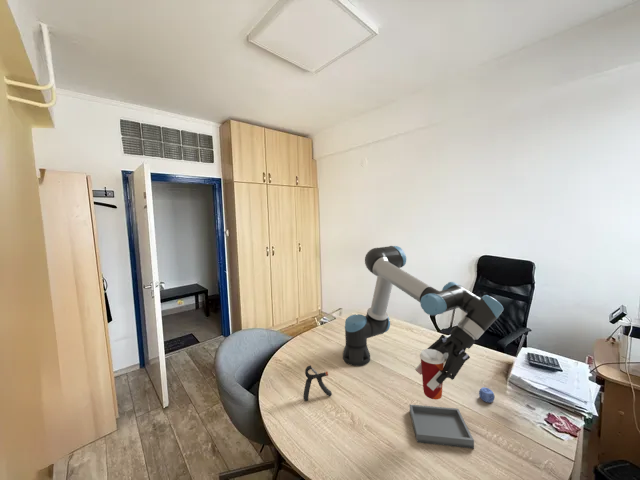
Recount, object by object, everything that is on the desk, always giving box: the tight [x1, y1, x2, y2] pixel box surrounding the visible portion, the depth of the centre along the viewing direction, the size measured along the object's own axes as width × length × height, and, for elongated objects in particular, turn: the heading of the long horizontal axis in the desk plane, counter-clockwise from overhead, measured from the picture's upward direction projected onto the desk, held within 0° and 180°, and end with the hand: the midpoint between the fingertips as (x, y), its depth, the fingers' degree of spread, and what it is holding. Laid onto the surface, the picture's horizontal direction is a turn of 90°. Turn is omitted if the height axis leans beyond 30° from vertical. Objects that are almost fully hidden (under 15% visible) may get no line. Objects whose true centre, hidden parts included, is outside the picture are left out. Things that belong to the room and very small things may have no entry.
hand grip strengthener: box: [303, 365, 333, 402], centre depth 109 cm, size 2×12×15 cm, turn 99°
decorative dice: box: [478, 386, 495, 404], centre depth 105 cm, size 4×4×4 cm
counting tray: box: [409, 404, 475, 450], centre depth 92 cm, size 18×14×3 cm
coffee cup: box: [419, 348, 446, 400], centre depth 90 cm, size 8×8×15 cm
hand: (423, 379), depth 90 cm, fingers closed on coffee cup, 8 cm apart
